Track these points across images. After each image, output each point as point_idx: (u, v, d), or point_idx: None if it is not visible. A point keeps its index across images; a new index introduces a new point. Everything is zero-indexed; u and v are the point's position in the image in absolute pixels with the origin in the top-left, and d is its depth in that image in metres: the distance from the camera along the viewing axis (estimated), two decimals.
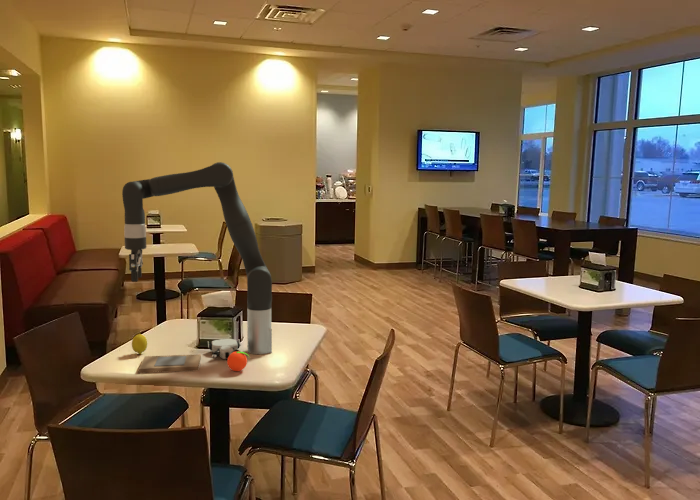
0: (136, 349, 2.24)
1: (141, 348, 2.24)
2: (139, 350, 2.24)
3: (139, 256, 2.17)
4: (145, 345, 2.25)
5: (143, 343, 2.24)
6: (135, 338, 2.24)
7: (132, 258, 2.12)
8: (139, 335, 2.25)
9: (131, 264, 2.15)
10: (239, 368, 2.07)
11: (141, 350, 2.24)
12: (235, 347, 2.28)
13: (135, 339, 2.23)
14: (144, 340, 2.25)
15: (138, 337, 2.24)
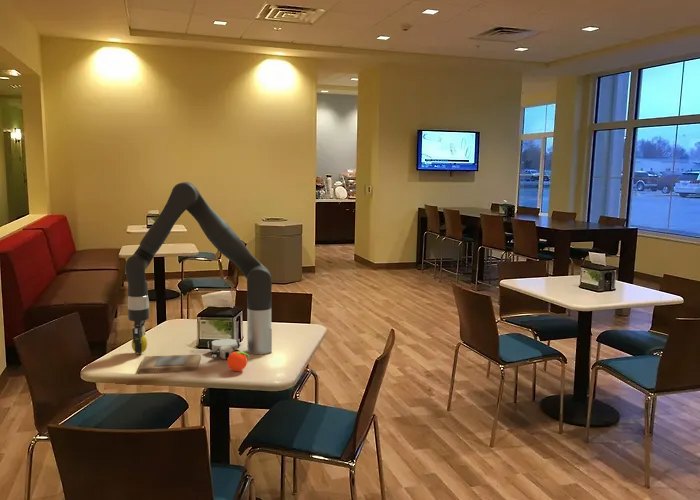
0: None
1: None
2: None
3: (142, 327, 2.23)
4: (145, 345, 2.25)
5: (143, 343, 2.24)
6: None
7: (135, 332, 2.19)
8: None
9: None
10: (239, 368, 2.07)
11: None
12: (235, 347, 2.28)
13: None
14: (144, 340, 2.25)
15: None
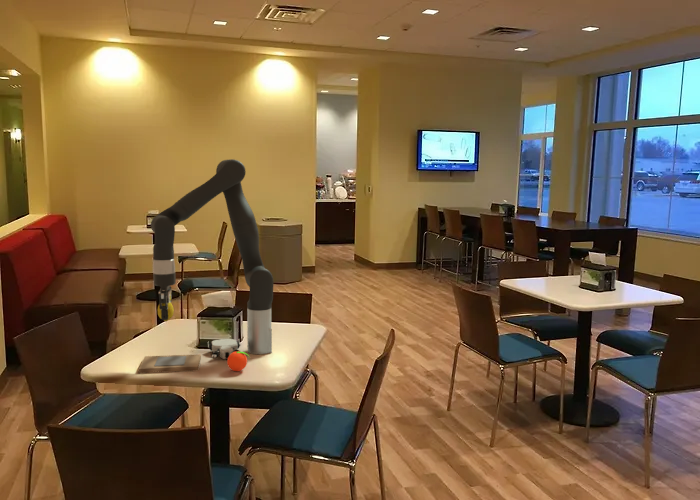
0: None
1: None
2: None
3: (168, 293, 2.11)
4: (171, 312, 2.13)
5: (169, 310, 2.12)
6: None
7: (162, 298, 2.06)
8: None
9: (161, 302, 2.10)
10: (239, 368, 2.07)
11: None
12: (235, 347, 2.28)
13: None
14: (170, 307, 2.13)
15: (164, 303, 2.12)
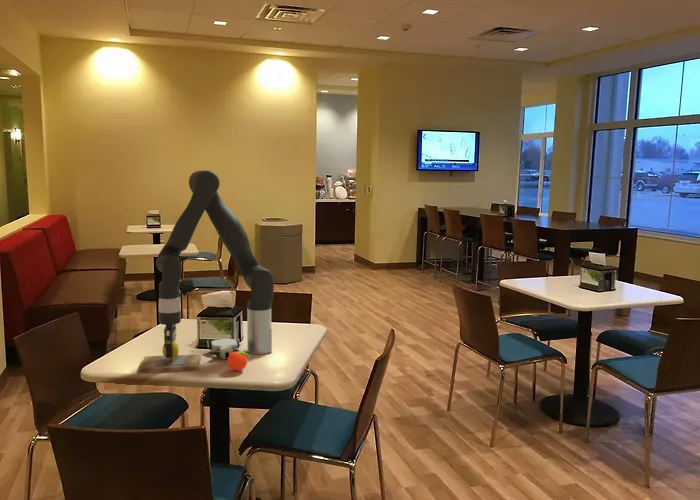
0: None
1: (173, 354, 2.11)
2: None
3: (174, 331, 2.11)
4: (177, 351, 2.12)
5: (175, 350, 2.12)
6: None
7: (167, 335, 2.06)
8: None
9: None
10: (239, 368, 2.07)
11: (172, 357, 2.12)
12: (235, 347, 2.28)
13: None
14: (176, 346, 2.12)
15: (169, 343, 2.11)
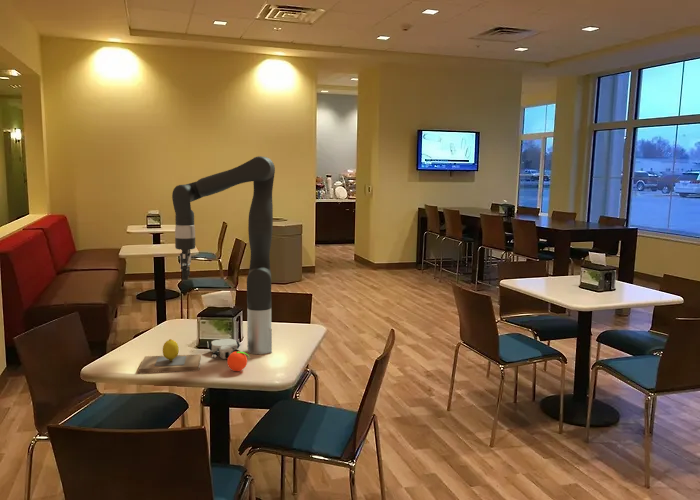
0: (167, 356, 2.11)
1: (173, 354, 2.11)
2: (170, 357, 2.11)
3: (189, 255, 2.29)
4: (177, 351, 2.12)
5: (175, 350, 2.12)
6: (166, 344, 2.11)
7: (183, 257, 2.24)
8: (170, 341, 2.12)
9: (182, 263, 2.27)
10: (239, 368, 2.07)
11: (172, 357, 2.12)
12: (235, 347, 2.28)
13: (166, 345, 2.11)
14: (176, 346, 2.12)
15: (169, 343, 2.11)
